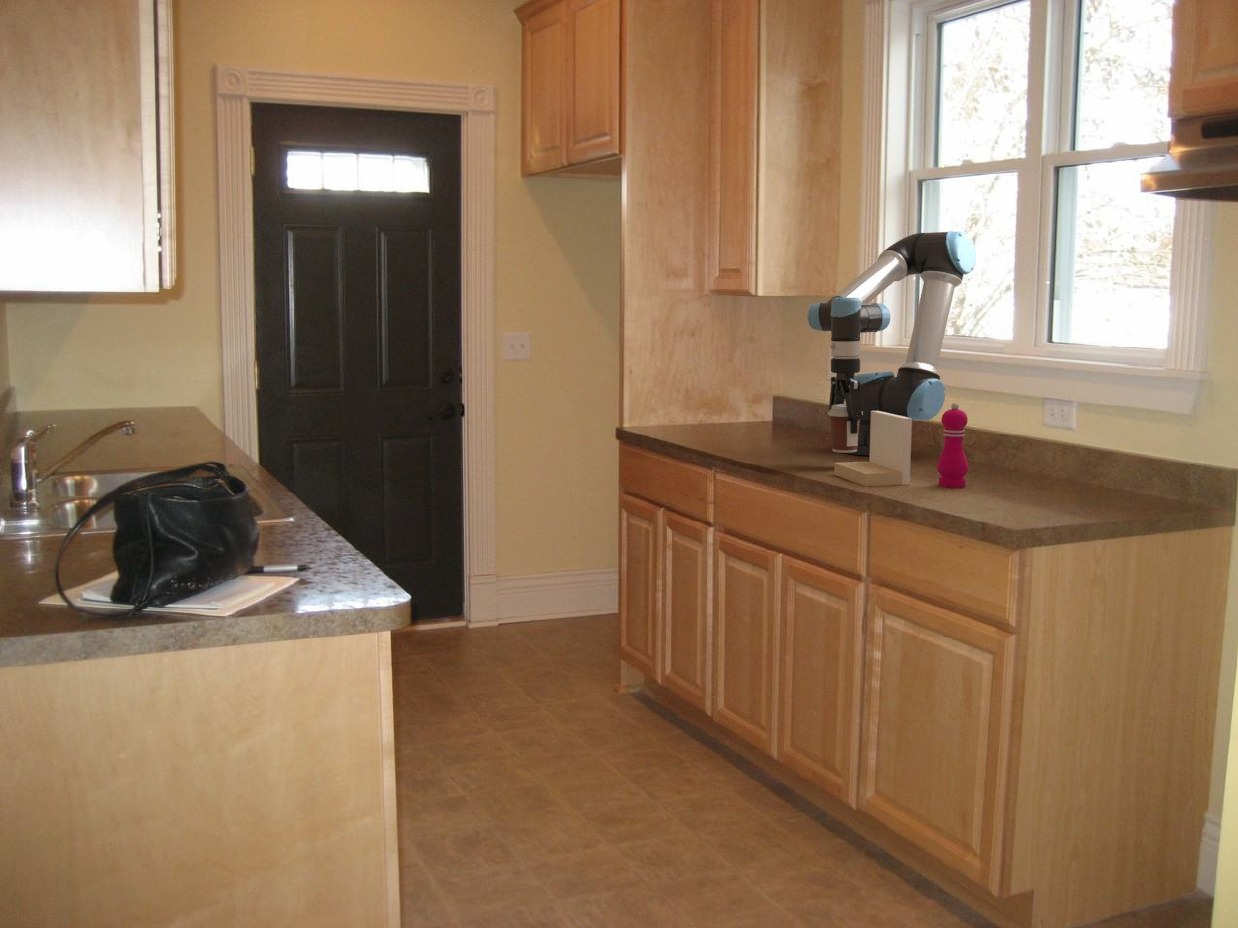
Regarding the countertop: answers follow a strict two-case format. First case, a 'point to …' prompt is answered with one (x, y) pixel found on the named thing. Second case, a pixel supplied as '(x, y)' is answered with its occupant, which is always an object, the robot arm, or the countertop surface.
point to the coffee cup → (840, 429)
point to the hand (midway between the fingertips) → (844, 443)
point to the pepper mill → (953, 449)
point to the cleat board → (883, 453)
